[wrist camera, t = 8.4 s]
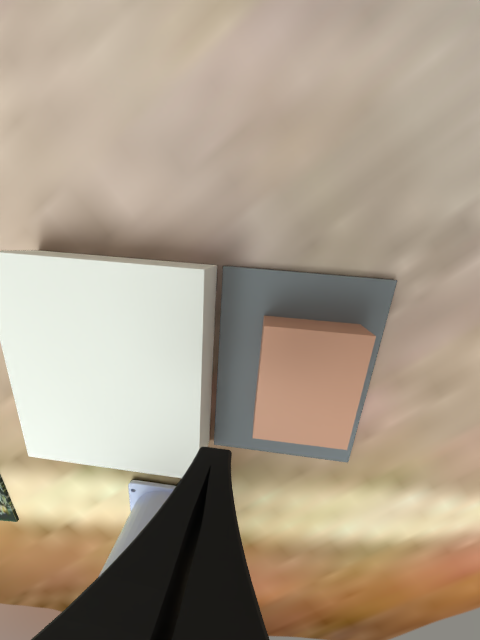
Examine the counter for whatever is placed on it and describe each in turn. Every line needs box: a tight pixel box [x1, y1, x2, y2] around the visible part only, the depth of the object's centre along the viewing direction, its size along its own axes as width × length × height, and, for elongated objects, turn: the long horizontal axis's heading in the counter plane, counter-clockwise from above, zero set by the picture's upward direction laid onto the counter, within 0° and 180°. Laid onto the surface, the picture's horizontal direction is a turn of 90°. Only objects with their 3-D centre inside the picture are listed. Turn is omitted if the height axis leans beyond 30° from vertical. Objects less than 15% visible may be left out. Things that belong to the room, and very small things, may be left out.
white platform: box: [0, 250, 217, 478], centre depth 18 cm, size 16×14×4 cm
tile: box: [253, 316, 376, 450], centre depth 17 cm, size 9×7×2 cm
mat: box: [214, 266, 397, 462], centre depth 19 cm, size 16×12×1 cm
